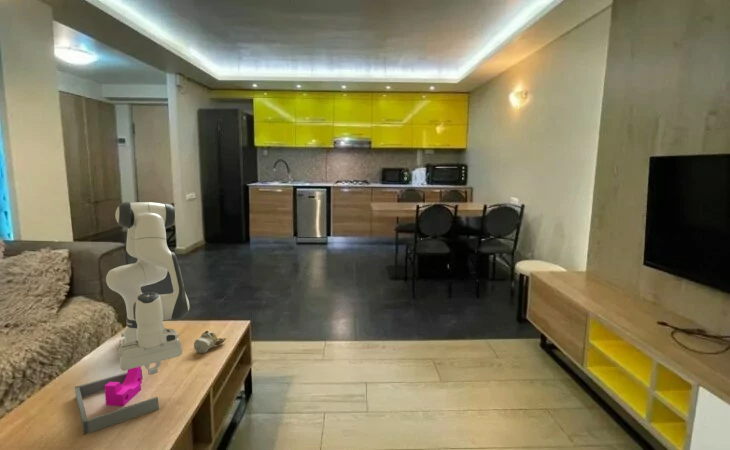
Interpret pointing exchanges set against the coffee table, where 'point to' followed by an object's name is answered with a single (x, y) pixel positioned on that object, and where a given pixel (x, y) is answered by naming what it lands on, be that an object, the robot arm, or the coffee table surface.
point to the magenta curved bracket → (124, 388)
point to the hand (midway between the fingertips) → (153, 373)
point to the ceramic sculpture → (207, 342)
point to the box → (113, 416)
